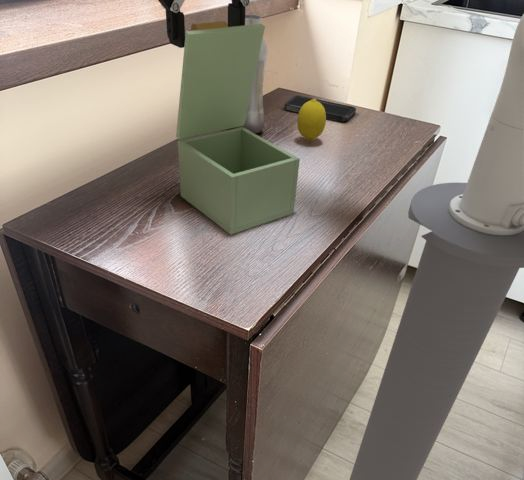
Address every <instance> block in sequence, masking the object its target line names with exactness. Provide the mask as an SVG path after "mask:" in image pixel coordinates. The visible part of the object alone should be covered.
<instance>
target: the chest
mask: <svg viewBox="0 0 524 480" xmlns="http://www.w3.org/2000/svg"><path fill="white" fill-rule="evenodd" d="M177 154H178V155H177V156H178V172H179V173H178V175H179V190H180V197H181V198H182V199H184V200H185V201H186V202H187V203H189V204H190V205H192V206H193V207H194V208H196V210H198V211H199V212H201V213H202V214H204V215H205V216H206V217H207V218H209V219H210V220H211V221H212V222H214V223H215V224H217V226H219V227H220V228H222V229H223V230H224V231H225V232H227V233H228V234H229V235H234V234H237V233H240V232H244V231H247V230H248V229H252V228H256V227H258V226H261V225H264V224H267V223H270V222H272V221H276V220H278V219H282V218H284V217H287V216H290V215H294V213H295V204H296V196H297V195H296V194H297V187H298V186H297V185H298V177H299V169H300V168H299V167H300V158H299V157H297V156H296V155H294V154H292V153H291V152H289V151H287V150H285V149H283V148H282V147H279V146H277V145H276V144H274V143H272V142H270V141H269V140H267V139H265V138H263V137H262V136H260V135H257V133H256V134H254V133H252V132H251V131H249V130H247V129H245V128H243V127H241V128H236V129H234V128H231V129H226V130H222V131H217V132H213V133H208V134H203V135H199V136H194V137H190V138H185V139H181V140H178V141H177Z"/></svg>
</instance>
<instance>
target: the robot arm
mask: <svg viewBox="0 0 524 480" xmlns="http://www.w3.org/2000/svg"><path fill="white" fill-rule="evenodd" d="M157 1H158V2H159V3H160V5H161V7H162V8H163V9H164V10H165V21H166V23H165V24H166V25H165V26H166V35H167V38H168V41H169V43H170V45H173V46H175V47H177V48H179V49H182V48H183V49H184V46H185V35H186V24H185V23H186V22H185V13H184V12H182V11H181V8H182V7H183V5H184V3H185V1H186V0H157ZM230 1H231V2H229V3H228V4H227V25H228V27H235V26H245V15H246V8H247V7H249V5H250V3H251V0H230ZM468 176H469V177H468V179H467V182H466V183H467V185H466V188H465V191H464V193H463V194H462V195H458V196H456V197H454V198H453V199H452V200H451V202H450V205H449V208H448V209H449V213H450V215H451V216H452V217H453V218H454V219H455V220H456V221H457V222H458V223H460V224H462V225H463V226H465V227H467V228H469V229H472V230H475V231H478V232H481V233H485V234H490V235H499V236H508V235H514V234H518V233H520V232H522V231H524V13H523V14H522V16H521V18H520V19H519V22H518V24H517V26H516V29H515V32H514V35H513V37H512V42H511V46H510V51H509V55H508V59H507V64H506V68H505V72H504V75H503V79H502V82H501V86H500V89H499V93H498V95H497V97H496V101H495V103H494V106H493V110H492V112H491V115H490V116H489V120H488V122H487V126H486V128H485V131H484V134H483V137H482V139H481V142H480V145H479V148H478V151H477V154H476V156H475V159H474V162H473V166H472V168H471V170H470V174H469V175H468Z"/></svg>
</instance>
